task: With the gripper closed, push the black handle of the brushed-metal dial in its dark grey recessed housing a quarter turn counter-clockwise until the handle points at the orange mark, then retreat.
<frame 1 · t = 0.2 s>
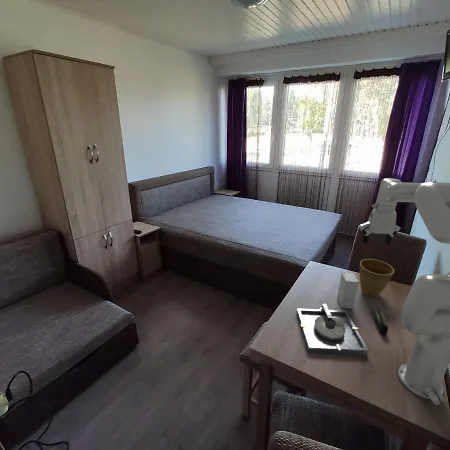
hand: (375, 243, 120), 31 cm above the table, fingers open, 9 cm apart
plant pot: (369, 293, 136), on the table
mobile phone: (377, 323, 116), on the table
dial: (328, 321, 110), point 4 cm above the table, hinge at 0.0°
skincare box: (344, 303, 128), on the table
housing: (328, 332, 110), on the table
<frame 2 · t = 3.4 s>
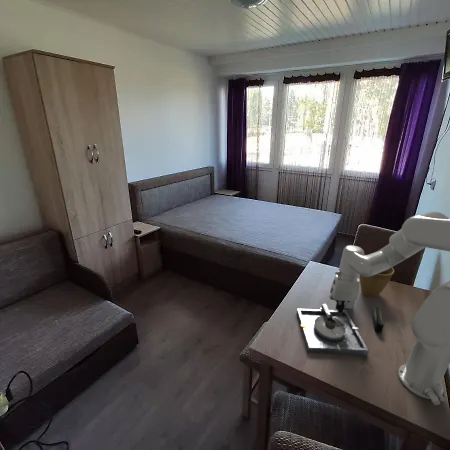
hand: (339, 310, 115), 5 cm above the table, fingers closed
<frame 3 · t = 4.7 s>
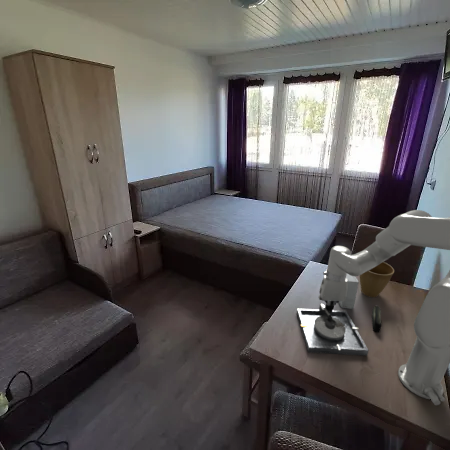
hand: (328, 310, 116), 4 cm above the table, fingers closed
dial: (328, 321, 110), point 4 cm above the table, hinge at 6.0°, touching gripper
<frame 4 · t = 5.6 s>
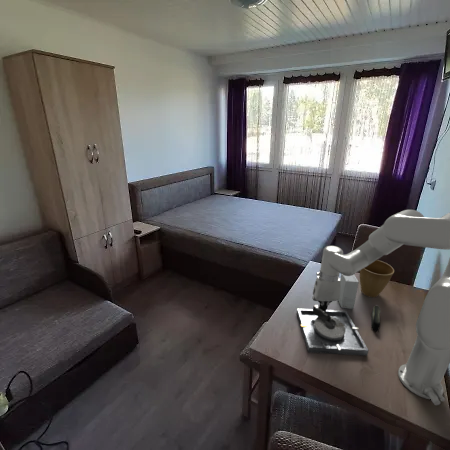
hand: (322, 310, 116), 4 cm above the table, fingers closed
dial: (327, 321, 110), point 4 cm above the table, hinge at 26.5°, touching gripper
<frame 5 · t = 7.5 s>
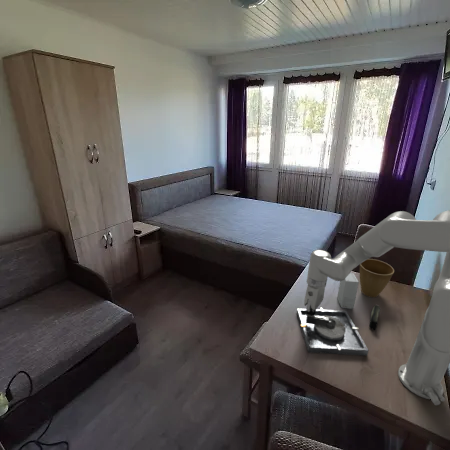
hand: (310, 316, 113), 4 cm above the table, fingers closed
dial: (325, 323, 109), point 4 cm above the table, hinge at 80.4°, touching gripper
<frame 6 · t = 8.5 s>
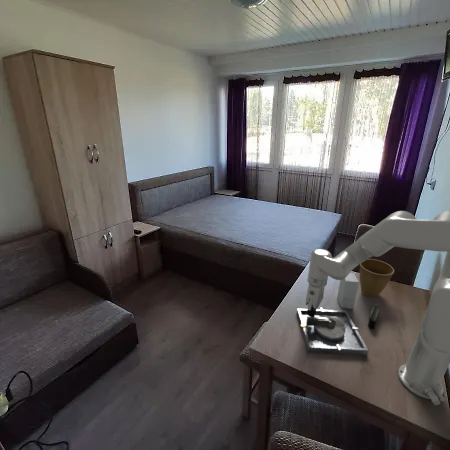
hand: (310, 315, 113), 4 cm above the table, fingers closed
dial: (325, 323, 109), point 4 cm above the table, hinge at 88.4°
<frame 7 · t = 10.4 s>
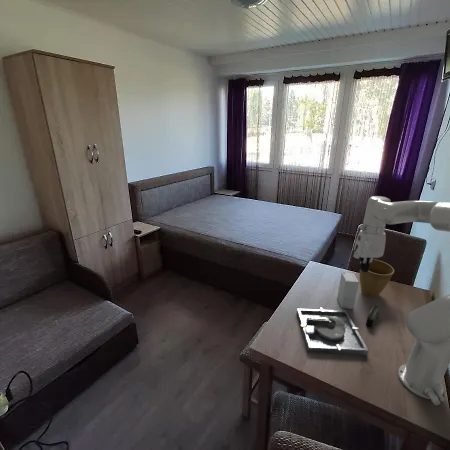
hand: (363, 270, 108), 26 cm above the table, fingers closed
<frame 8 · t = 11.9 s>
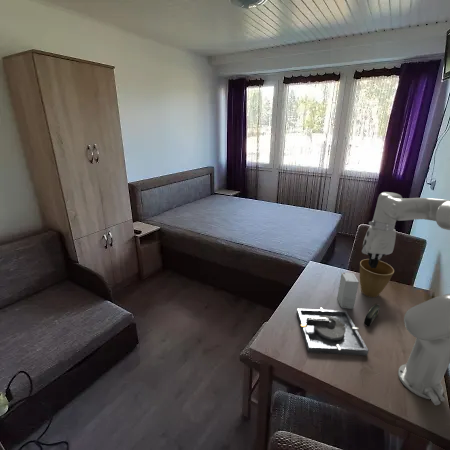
hand: (372, 266, 108), 27 cm above the table, fingers closed
at the end: dial at +88° (first picture: +0°) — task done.
